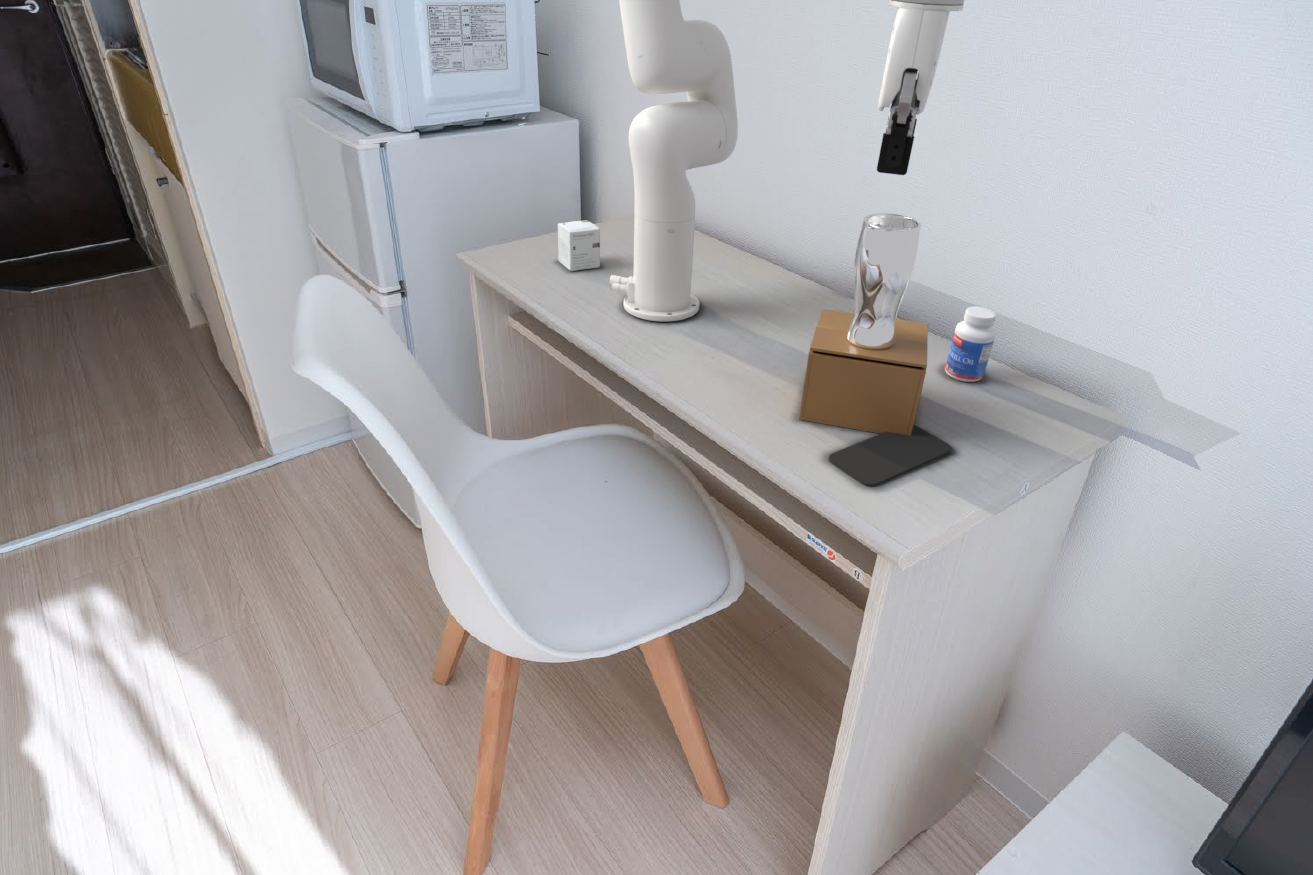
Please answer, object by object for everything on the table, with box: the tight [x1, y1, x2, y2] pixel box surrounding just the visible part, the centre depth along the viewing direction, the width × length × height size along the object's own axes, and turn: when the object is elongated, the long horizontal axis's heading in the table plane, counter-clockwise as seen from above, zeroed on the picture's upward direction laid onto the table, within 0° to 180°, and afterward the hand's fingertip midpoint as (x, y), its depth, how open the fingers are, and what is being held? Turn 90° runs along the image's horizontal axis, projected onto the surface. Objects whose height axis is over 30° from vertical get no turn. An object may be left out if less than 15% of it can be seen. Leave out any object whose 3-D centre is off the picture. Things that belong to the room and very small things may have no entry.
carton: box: [798, 326, 928, 436], centre depth 105 cm, size 13×14×10 cm
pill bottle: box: [944, 306, 997, 383], centre depth 113 cm, size 6×5×10 cm
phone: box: [828, 424, 953, 488], centre depth 97 cm, size 7×1×15 cm
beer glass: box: [846, 212, 922, 350], centre depth 97 cm, size 7×7×15 cm
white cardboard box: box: [557, 219, 601, 272], centre depth 147 cm, size 6×6×7 cm
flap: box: [816, 308, 929, 344], centre depth 105 cm, size 6×14×1 cm, turn 73°
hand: (893, 162), depth 91 cm, fingers open, 9 cm apart
